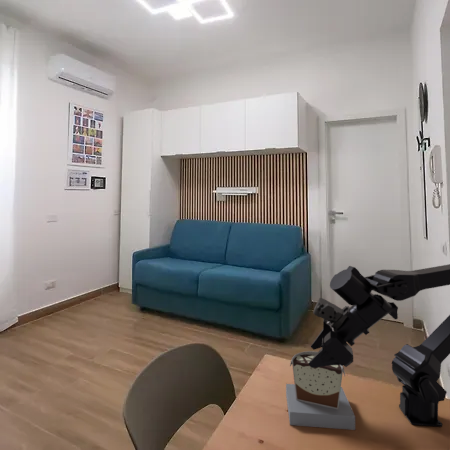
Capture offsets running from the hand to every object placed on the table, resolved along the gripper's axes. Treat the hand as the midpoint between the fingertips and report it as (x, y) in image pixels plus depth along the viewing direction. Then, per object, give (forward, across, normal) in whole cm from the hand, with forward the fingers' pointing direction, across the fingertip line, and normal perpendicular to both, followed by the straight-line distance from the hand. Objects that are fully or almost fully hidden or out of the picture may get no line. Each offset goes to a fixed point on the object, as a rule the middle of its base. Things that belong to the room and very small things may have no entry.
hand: (311, 356), depth 71 cm
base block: (+8, 0, +10) cm, 13 cm away
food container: (+6, -1, +8) cm, 10 cm away
